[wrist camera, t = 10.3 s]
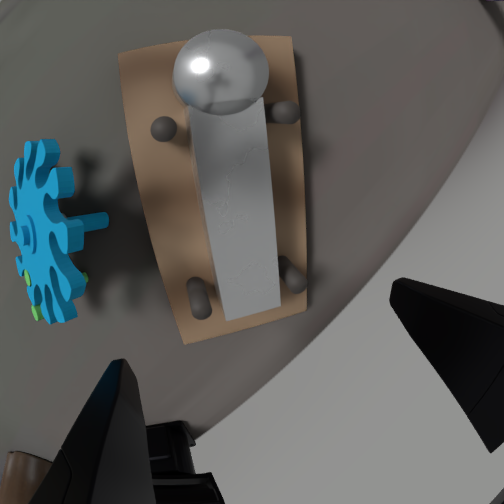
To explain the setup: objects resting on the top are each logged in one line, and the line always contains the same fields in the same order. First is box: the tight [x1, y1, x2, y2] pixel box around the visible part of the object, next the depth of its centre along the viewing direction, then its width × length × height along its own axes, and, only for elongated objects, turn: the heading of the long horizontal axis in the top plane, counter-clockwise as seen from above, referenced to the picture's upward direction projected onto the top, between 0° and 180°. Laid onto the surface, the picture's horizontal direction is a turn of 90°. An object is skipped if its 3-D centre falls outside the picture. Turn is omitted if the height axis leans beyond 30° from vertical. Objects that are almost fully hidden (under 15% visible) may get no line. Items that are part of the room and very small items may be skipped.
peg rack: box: [118, 36, 308, 345], centre depth 16 cm, size 20×10×4 cm, turn 7°
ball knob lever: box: [172, 29, 281, 321], centre depth 15 cm, size 16×4×3 cm, turn 7°
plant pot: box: [0, 451, 52, 504], centre depth 19 cm, size 16×16×16 cm
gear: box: [9, 139, 109, 324], centre depth 14 cm, size 11×6×10 cm
